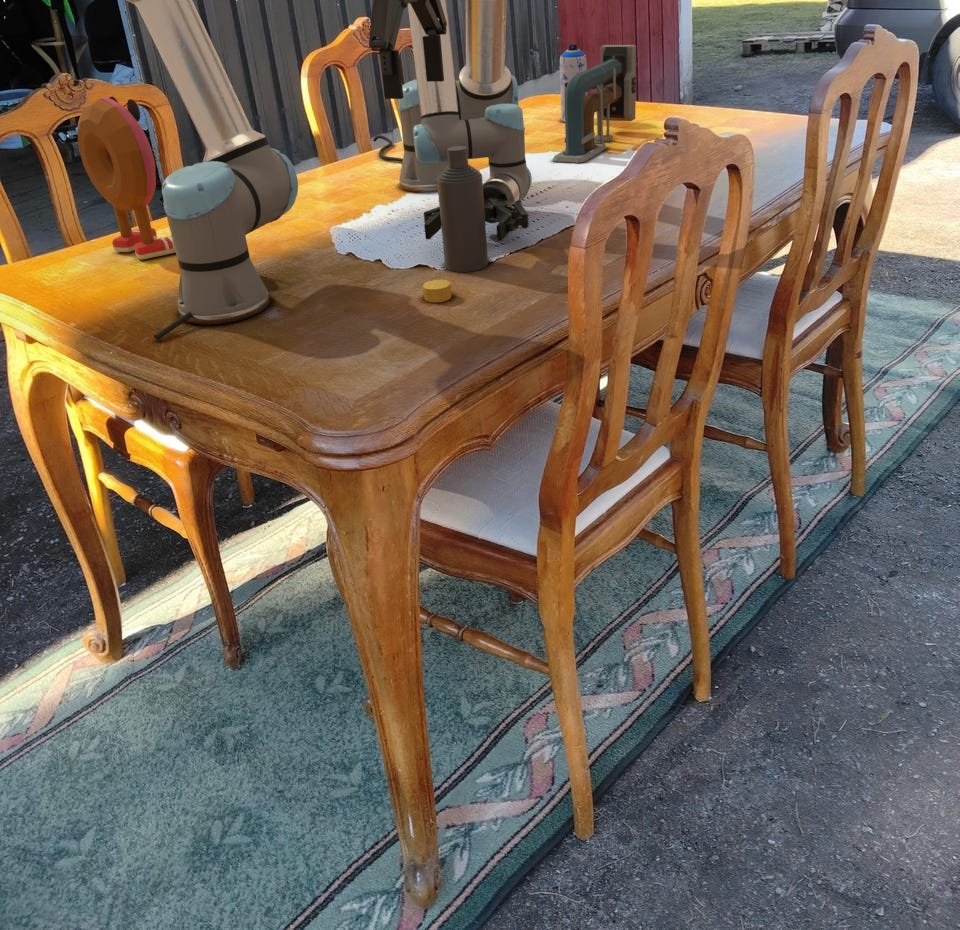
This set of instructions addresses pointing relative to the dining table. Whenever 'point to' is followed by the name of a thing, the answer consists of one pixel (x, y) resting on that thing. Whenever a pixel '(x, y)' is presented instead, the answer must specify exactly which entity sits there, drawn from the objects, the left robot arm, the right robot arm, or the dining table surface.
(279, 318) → the dining table surface
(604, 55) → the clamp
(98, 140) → the toy
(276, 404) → the dining table surface
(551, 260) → the dining table surface
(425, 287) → the cap
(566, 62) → the aerosol can
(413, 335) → the dining table surface
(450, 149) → the bottle
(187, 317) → the left robot arm
